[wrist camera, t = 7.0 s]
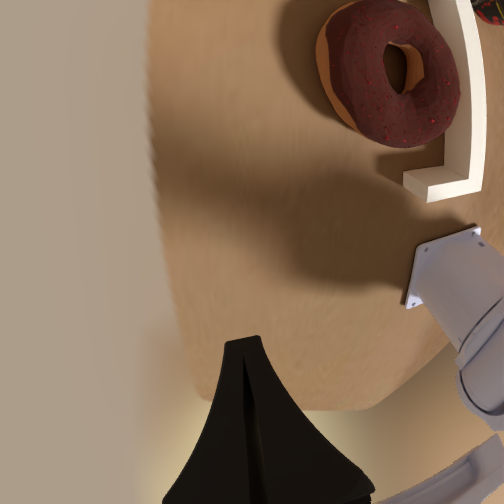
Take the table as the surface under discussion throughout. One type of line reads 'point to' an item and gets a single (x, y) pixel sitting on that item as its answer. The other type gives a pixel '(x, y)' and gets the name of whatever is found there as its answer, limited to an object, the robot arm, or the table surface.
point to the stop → (458, 110)
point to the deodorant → (489, 10)
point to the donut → (374, 76)
